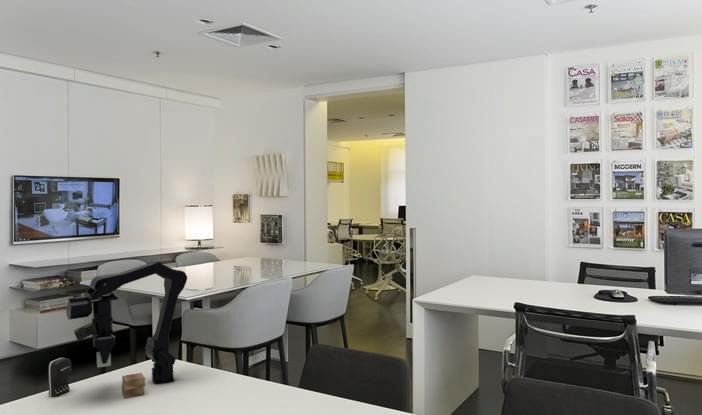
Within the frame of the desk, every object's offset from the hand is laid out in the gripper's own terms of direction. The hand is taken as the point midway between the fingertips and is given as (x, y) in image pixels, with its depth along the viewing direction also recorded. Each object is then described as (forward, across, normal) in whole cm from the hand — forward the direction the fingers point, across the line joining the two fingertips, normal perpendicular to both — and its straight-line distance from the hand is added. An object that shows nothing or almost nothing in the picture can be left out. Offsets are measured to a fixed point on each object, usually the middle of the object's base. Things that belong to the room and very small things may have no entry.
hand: (104, 361), depth 177 cm
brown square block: (+8, +5, +8) cm, 13 cm away
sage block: (+1, 0, 0) cm, 1 cm away
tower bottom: (+11, +5, +8) cm, 14 cm away
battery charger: (+11, -8, -13) cm, 19 cm away
